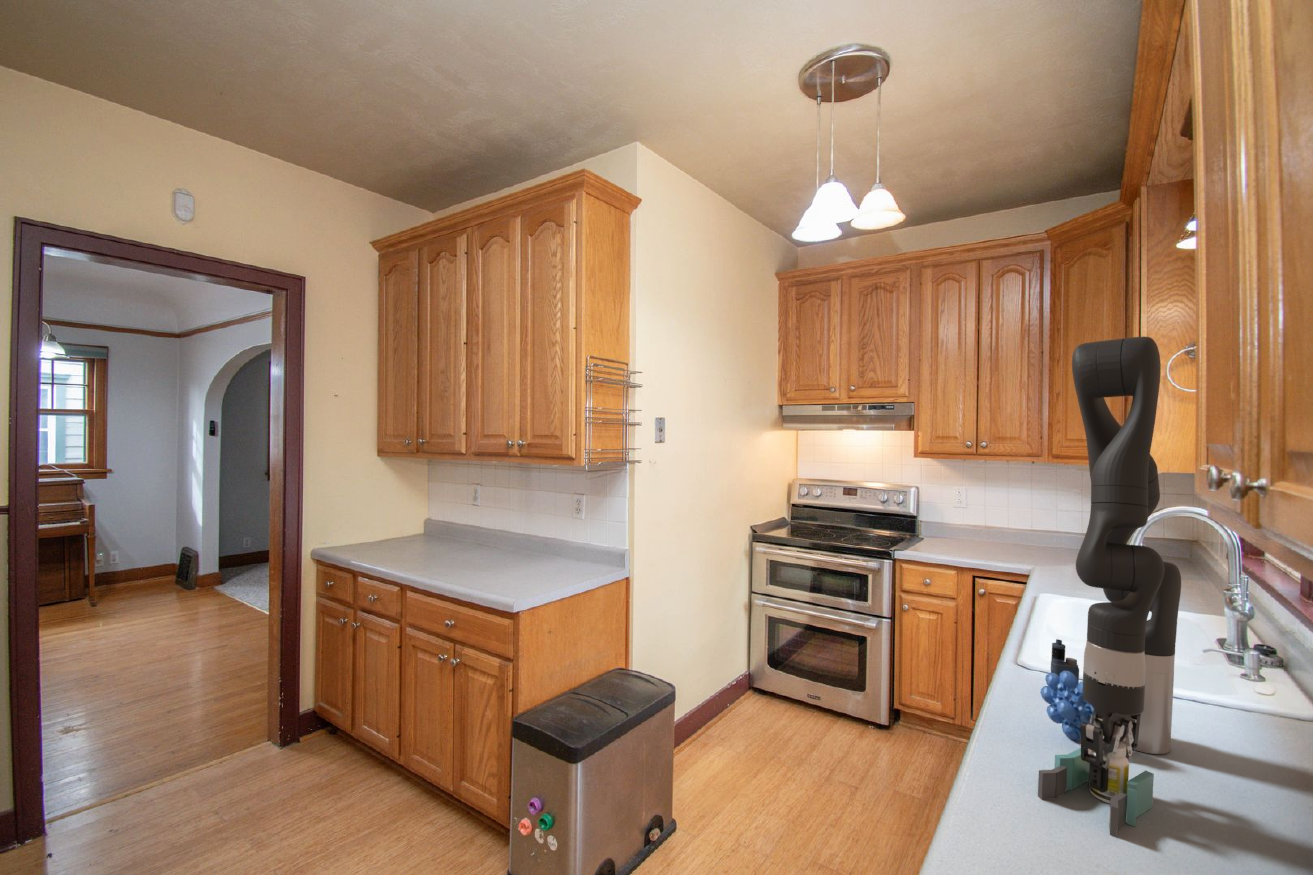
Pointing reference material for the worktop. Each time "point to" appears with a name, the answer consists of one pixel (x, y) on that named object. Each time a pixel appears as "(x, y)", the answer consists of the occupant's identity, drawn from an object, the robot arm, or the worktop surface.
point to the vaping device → (1062, 660)
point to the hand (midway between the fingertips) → (1108, 782)
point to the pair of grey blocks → (1055, 786)
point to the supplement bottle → (1115, 774)
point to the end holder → (1136, 787)
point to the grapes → (1066, 702)
